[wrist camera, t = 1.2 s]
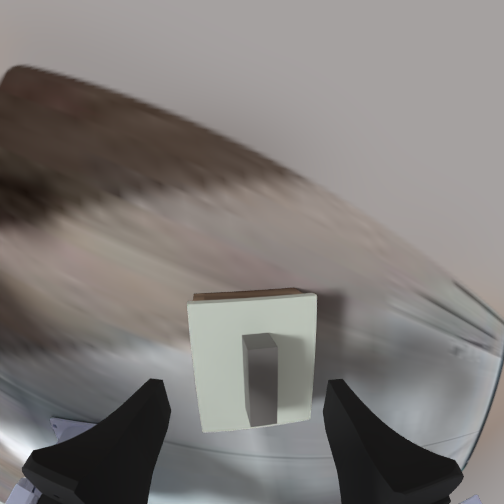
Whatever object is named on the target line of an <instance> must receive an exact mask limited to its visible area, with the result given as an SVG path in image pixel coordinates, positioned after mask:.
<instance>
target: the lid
mask: <svg viewBox="0 0 504 504" xmlns="http://www.w3.org/2000/svg"><path fill="white" fill-rule="evenodd" d="M187 310H188V321H189V332H190V342H191V352H192V361H193V369H194V377H195V385H196V392H197V400H198V407H199V413H200V420H201V426H202V432H203V433H207V432H223V431H235V430H245V429H253V428H261V427H268V426H275V425H281V424H287V423H293V422H299V421H304V420H309V419H310V416H311V404H312V392H313V378H314V363H315V343H316V318H317V295H316V294H314V293H305V294H293V295H281V296H268V297H254V298H239V299H222V300H203V301H188V302H187Z"/></svg>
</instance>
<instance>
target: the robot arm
mask: <svg viewBox="0 0 504 504" xmlns="http://www.w3.org/2000/svg"><path fill="white" fill-rule="evenodd" d="M170 414H171V408H170V405H169V401H168V398H167V394H166V391H165V387H164V383H163V380H159V379H149V380H148V381H147V382H146V383H145V384H144V385H143V386H142V387H141V388H140V389H139V390H138V391H137V392H135V393H134V394H133V395H132V396H131V397H130V398H129V399H128V400H127V401H126V402H125V403H124V404H123V405H121V406H120V407H119V408H118V409H117V410H116V411H114V412H113V413H112V414H111V415H109V416H108V417H107V418H105V419H104V420H103V421H101V422H100V423H98V424H93V423H85V422H78V421H72V420H66V419H60V418H55V417H51V418H50V423H51V425H52V428H53V430H54V432H55V434H56V436H57V438H58V442H57V443H56V445H53V446H49V447H45V448H42V449H38V450H33V452H32V453H31V455H30V456H29V458H28V459H27V461H26V463H25V464H24V466H23V467H22V472H23V474H24V476H25V477H26V478H21V479H20V480H19V482H18V483H17V484H16V485H15V487H14V489H13V490H12V492H11V494H10V496H9V497H8V499H7V501H6V503H5V504H147V503H148V496H149V490H150V484H151V479H152V474H153V470H154V467H155V464H156V461H157V458H158V455H159V452H160V449H161V447H162V444H163V441H164V438H165V435H166V432H167V429H168V424H169V419H170ZM323 416H324V423H325V430H326V434H327V437H328V441H329V444H330V448H331V451H332V455H333V458H334V462H335V465H336V469H337V473H338V479H339V486H340V494H341V503H342V504H449V503H450V502H451V500H450V498H449V494H451V493H452V492H453V491H454V490H455V489H456V488H457V486H458V485H459V484H460V483H461V482H462V480H463V477H464V476H463V474H462V472H461V469H460V467H459V466H458V464H457V463H456V461H455V460H453V459H450V458H447V457H444V456H441V455H438V454H435V453H433V452H430V451H428V450H426V449H424V448H422V447H420V446H418V445H416V444H414V443H412V442H411V441H409V440H407V439H405V438H404V437H402V436H401V435H399V434H398V433H396V432H395V431H394V430H392V429H391V428H390V427H388V426H387V425H386V424H385V423H384V422H382V421H381V420H380V419H379V418H378V417H377V416H376V415H375V414H374V413H373V412H372V411H371V410H370V409H369V408H368V407H367V406H366V405H365V404H364V403H363V402H362V401H361V400H360V399H359V398H358V397H357V396H356V394H355V393H354V392H353V391H352V390H351V389H350V387H349V386H348V385H347V384H346V383H345V381H344V380H343V379H336V380H328V386H327V392H326V397H325V403H324V408H323ZM459 504H482V503H481V500H480V498H479V496H478V495H474V496H472V497H471V498H468V499H466V500H465V501H463V502H461V503H459Z"/></svg>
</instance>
